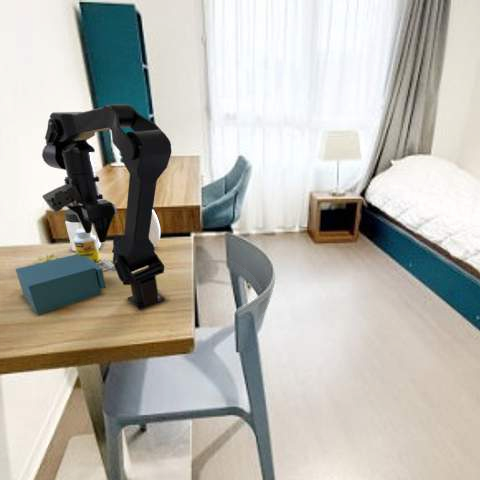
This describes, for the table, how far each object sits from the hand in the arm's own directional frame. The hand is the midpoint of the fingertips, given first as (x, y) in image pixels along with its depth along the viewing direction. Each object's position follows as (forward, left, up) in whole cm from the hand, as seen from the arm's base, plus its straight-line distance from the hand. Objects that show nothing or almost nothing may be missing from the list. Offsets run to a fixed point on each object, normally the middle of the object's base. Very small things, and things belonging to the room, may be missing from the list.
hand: (95, 237), depth 90 cm
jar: (+27, -5, -12) cm, 30 cm away
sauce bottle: (+13, -19, -12) cm, 26 cm away
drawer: (-1, +6, -11) cm, 13 cm away
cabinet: (-1, +10, -12) cm, 16 cm away
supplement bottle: (+13, -1, -12) cm, 18 cm away
